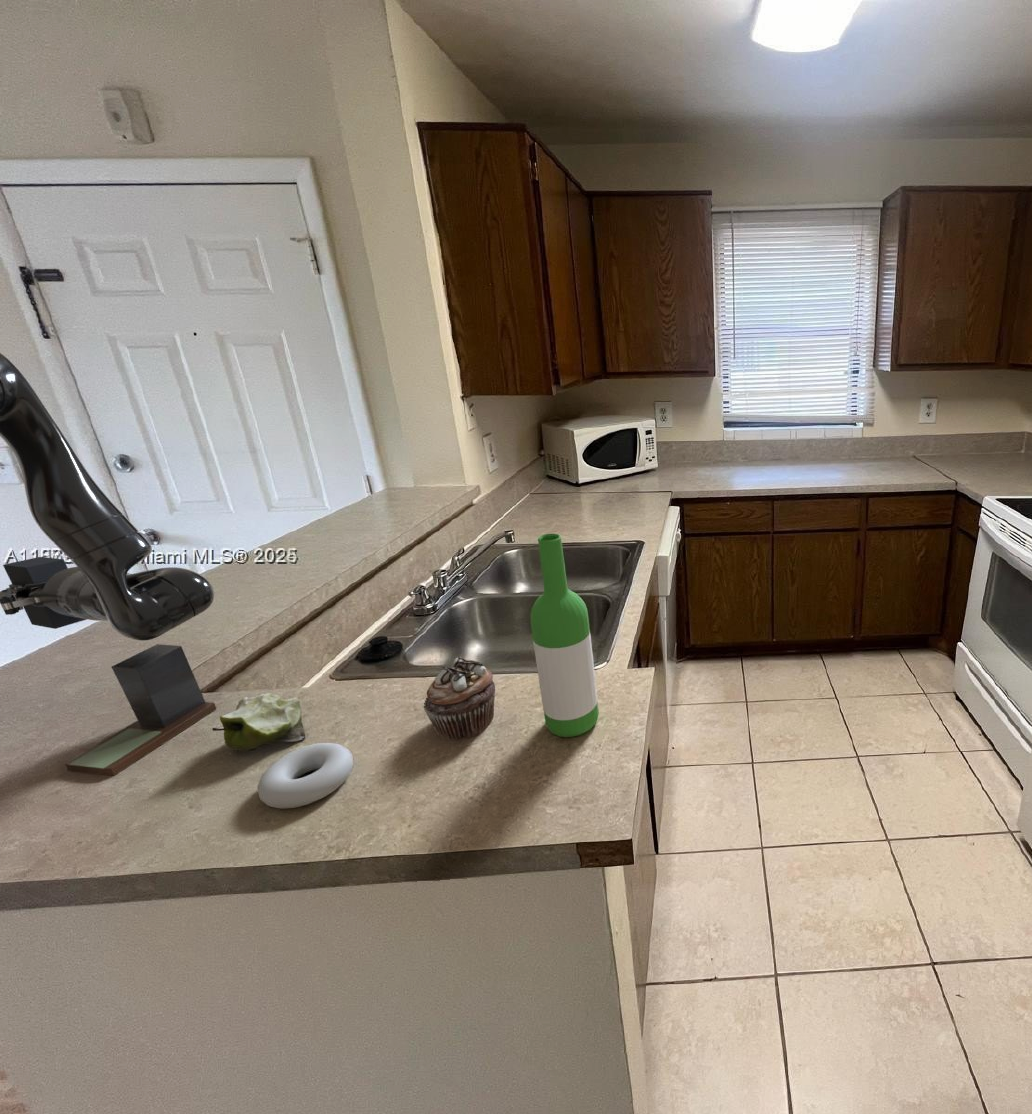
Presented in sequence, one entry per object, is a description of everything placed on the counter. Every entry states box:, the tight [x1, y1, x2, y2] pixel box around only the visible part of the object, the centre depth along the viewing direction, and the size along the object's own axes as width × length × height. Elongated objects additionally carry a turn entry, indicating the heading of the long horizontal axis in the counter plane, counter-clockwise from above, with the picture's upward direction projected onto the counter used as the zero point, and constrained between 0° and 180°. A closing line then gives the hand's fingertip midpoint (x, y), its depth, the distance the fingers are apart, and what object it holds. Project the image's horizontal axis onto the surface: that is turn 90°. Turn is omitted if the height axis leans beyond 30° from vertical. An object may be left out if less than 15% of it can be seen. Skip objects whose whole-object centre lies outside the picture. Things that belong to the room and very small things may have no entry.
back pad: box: [2, 556, 88, 630], centre depth 88 cm, size 7×4×10 cm, turn 70°
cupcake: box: [423, 656, 496, 741], centre depth 83 cm, size 10×10×10 cm
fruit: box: [211, 692, 306, 752], centre depth 80 cm, size 9×9×8 cm
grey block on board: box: [64, 643, 217, 776], centre depth 79 cm, size 7×14×11 cm, turn 173°
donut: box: [257, 742, 354, 810], centre depth 73 cm, size 10×4×10 cm
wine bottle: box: [529, 533, 600, 738], centre depth 80 cm, size 8×8×30 cm
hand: (36, 585), depth 88 cm, fingers closed on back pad, 4 cm apart
